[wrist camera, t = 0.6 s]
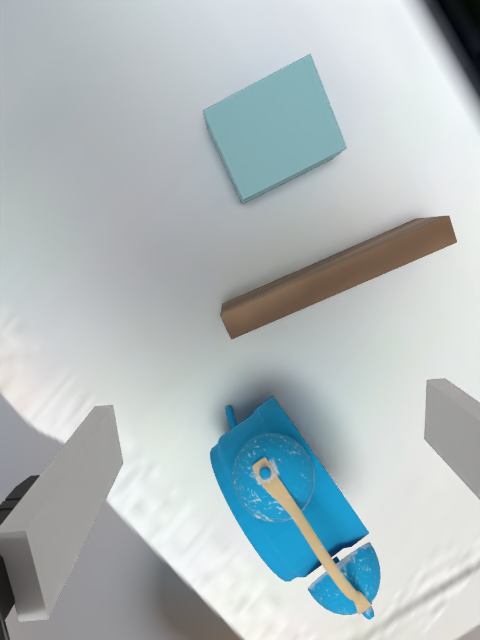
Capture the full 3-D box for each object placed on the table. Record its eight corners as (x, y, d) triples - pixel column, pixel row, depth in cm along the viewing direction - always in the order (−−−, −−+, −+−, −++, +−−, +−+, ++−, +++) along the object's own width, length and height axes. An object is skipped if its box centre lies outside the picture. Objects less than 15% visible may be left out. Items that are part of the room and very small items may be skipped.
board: (222, 304, 40) (220, 315, 34) (416, 218, 38) (449, 215, 32) (232, 324, 40) (231, 339, 35) (423, 241, 39) (457, 242, 33)
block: (207, 127, 36) (202, 110, 31) (300, 78, 35) (310, 53, 30) (242, 204, 38) (243, 199, 33) (332, 159, 37) (346, 147, 32)
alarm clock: (198, 406, 43) (167, 551, 23) (274, 359, 41) (308, 470, 22) (276, 510, 46) (306, 713, 26) (348, 468, 45) (435, 650, 25)
